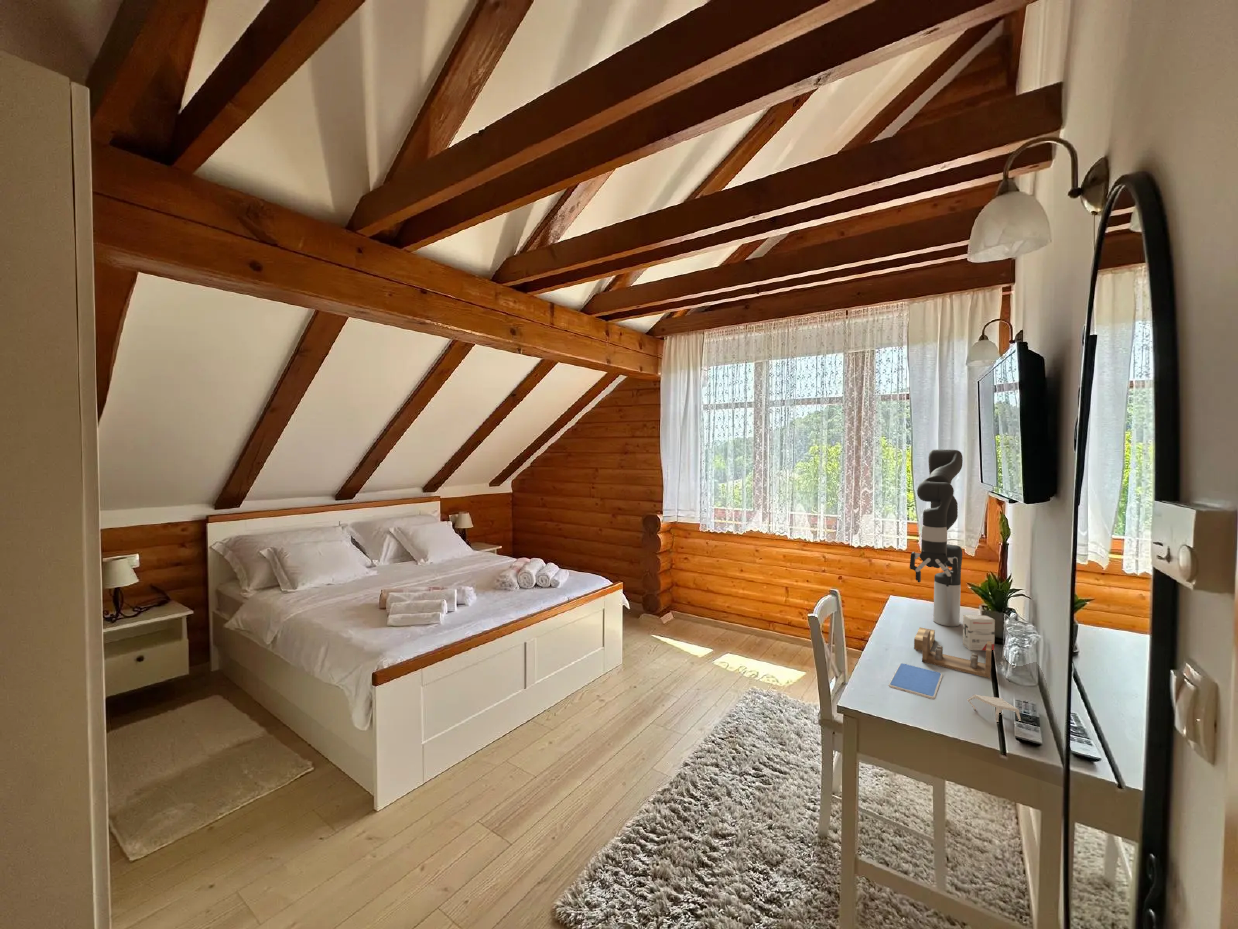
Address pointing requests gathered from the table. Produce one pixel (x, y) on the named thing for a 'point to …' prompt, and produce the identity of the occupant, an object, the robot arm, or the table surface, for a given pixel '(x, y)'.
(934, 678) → the blue flat rectangular panel
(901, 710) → the table surface
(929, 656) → the peg stand
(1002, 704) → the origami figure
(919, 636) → the golden rectangular block
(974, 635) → the ink box
